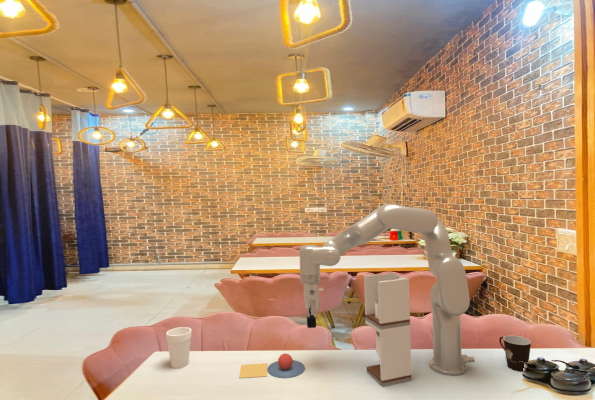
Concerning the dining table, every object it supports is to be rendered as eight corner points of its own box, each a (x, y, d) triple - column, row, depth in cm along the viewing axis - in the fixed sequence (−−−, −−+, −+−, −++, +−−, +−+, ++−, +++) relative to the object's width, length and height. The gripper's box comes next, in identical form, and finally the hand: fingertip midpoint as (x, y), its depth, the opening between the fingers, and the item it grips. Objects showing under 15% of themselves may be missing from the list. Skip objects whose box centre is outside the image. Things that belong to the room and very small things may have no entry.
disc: (303, 359, 143) (302, 358, 143) (306, 376, 129) (306, 376, 129) (267, 361, 142) (267, 360, 142) (267, 379, 128) (267, 378, 128)
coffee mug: (535, 374, 126) (535, 345, 126) (508, 372, 128) (508, 344, 128) (522, 359, 138) (521, 333, 138) (497, 357, 139) (497, 331, 139)
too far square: (267, 363, 140) (267, 363, 140) (267, 376, 130) (267, 375, 130) (241, 365, 139) (241, 364, 139) (239, 378, 129) (239, 377, 129)
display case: (394, 367, 134) (391, 272, 134) (411, 380, 124) (409, 278, 124) (366, 372, 131) (364, 275, 130) (382, 386, 121) (379, 282, 120)
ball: (275, 355, 137) (281, 367, 138) (276, 362, 132) (282, 375, 132) (287, 348, 138) (294, 360, 138) (289, 354, 133) (296, 367, 133)
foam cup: (197, 361, 143) (196, 328, 143) (180, 372, 135) (179, 337, 135) (179, 357, 147) (178, 325, 147) (161, 367, 139) (160, 334, 139)
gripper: (323, 282, 129) (324, 333, 129) (317, 273, 144) (318, 319, 144) (302, 283, 128) (303, 335, 128) (298, 274, 143) (299, 320, 143)
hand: (311, 326), depth 136 cm, fingers closed
